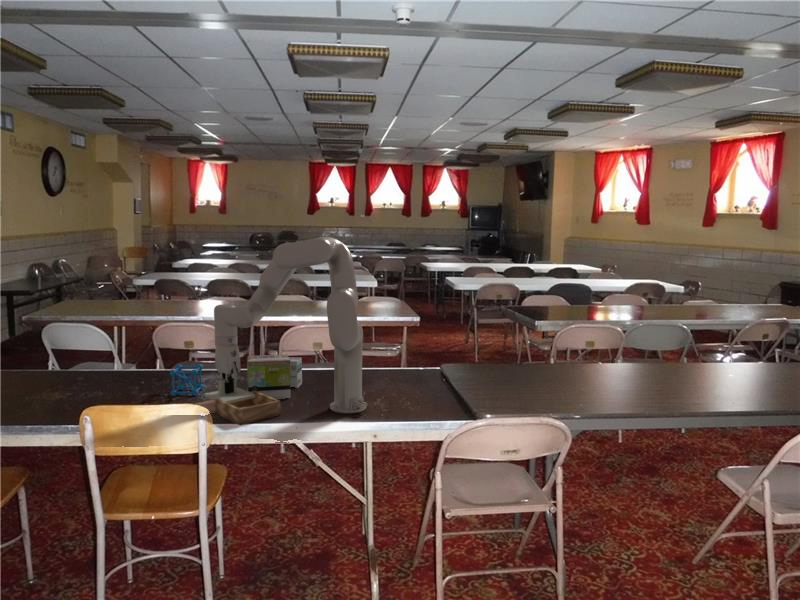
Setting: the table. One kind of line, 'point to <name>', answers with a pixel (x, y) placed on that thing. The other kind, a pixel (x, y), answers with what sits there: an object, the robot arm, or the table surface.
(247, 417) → the oak box
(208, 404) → the terracotta tile
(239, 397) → the cover plate
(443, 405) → the table surface
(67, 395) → the table surface
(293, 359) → the light bulb box
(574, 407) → the table surface
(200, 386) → the molecular structure
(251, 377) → the tea box
